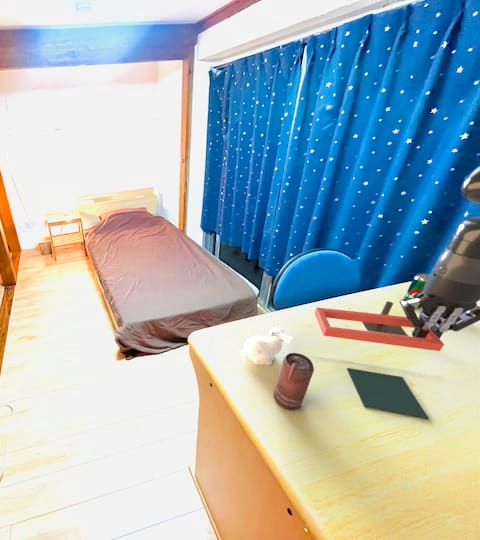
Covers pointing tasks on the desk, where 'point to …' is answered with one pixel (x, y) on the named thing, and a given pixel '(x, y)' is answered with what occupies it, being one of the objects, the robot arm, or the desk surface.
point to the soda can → (416, 287)
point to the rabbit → (264, 347)
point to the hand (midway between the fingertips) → (422, 340)
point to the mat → (386, 393)
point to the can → (293, 381)
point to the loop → (422, 343)
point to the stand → (382, 327)
